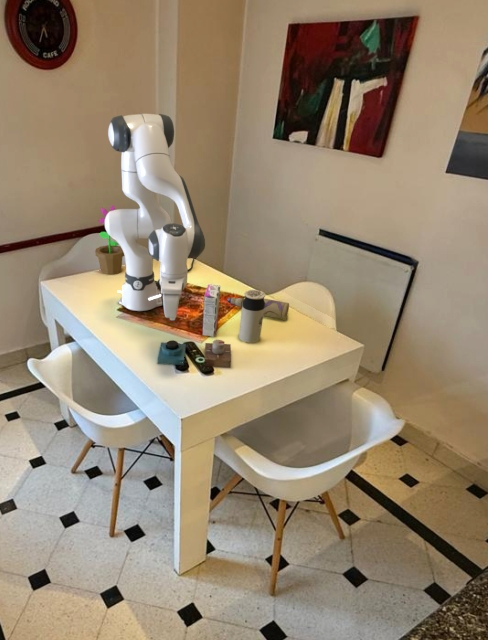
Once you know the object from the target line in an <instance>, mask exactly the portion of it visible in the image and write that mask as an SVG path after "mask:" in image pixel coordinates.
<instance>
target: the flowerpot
mask: <svg viewBox="0 0 488 640" xmlns="http://www.w3.org/2000/svg"><path fill="white" fill-rule="evenodd" d="M113 210H116V207H115V205H114V204H113V205H111V207H110V209H109V211H113ZM100 211H101V213H102V215H103V216H104V217H101V218H100V219H98V222H99V224H105V218H106V215H107V214H108V213H109V211H108V210H107V209H106V208H104V207H101V208H100ZM98 235H99V236H100V238H102V239H104V240H106V239H107V241H108V244H107V245H101V246H98V247H96V248H95V250H94V253H95V257H96V258H98V262H99V267H100V272H101V273H102V274H105V275H117V274H119V273H122V269H123V257H125V256H124V252H123V250H122V248H121V246H120V245H119V244H118V242H117V241H115V240H111V237H110V236H109V235H108V233H107V231H101V232H100V233H98Z"/></svg>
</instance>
